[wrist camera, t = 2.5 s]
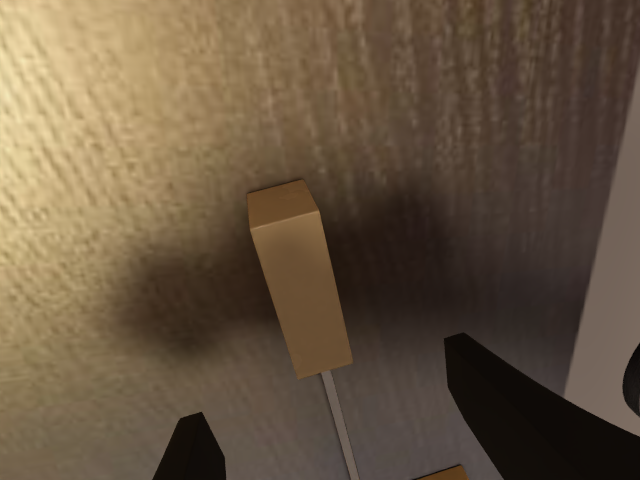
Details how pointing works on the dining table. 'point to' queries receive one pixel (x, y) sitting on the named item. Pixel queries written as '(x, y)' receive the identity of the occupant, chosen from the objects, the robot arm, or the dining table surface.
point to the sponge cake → (448, 475)
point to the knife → (303, 288)
